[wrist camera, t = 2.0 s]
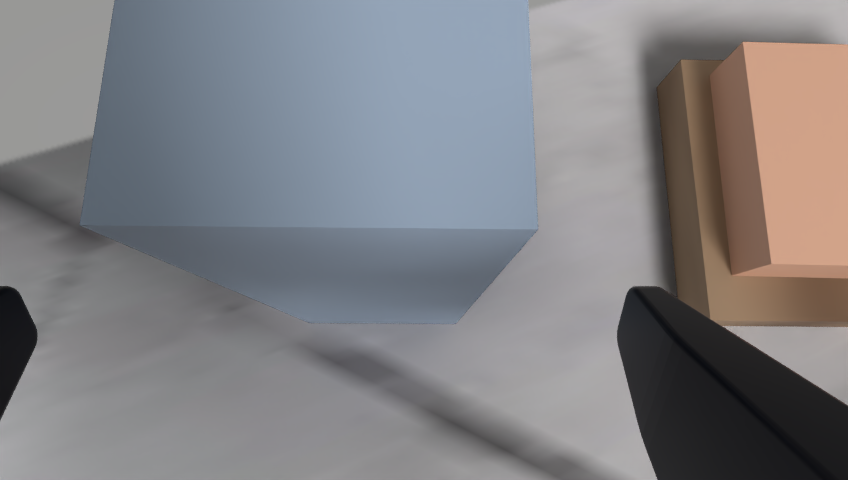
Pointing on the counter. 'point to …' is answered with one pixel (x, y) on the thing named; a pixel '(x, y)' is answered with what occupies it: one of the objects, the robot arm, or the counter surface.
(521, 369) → the counter surface
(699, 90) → the walnut block
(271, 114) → the slate blue block
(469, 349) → the counter surface
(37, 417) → the counter surface
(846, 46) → the terracotta block
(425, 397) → the counter surface
